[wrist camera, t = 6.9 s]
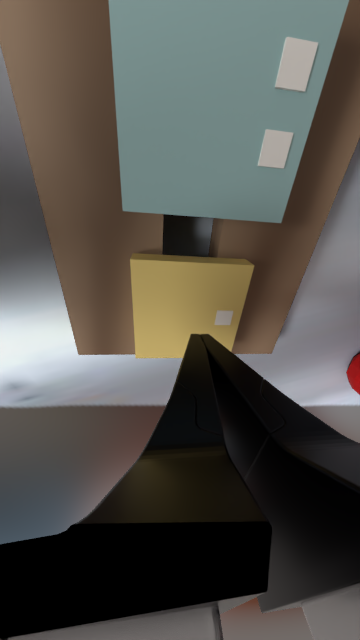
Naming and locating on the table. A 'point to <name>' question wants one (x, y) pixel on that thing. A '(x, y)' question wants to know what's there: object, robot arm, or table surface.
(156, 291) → the tile mustard
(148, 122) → the tile teal
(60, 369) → the table surface
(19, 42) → the button board
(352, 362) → the red plastic bottle
